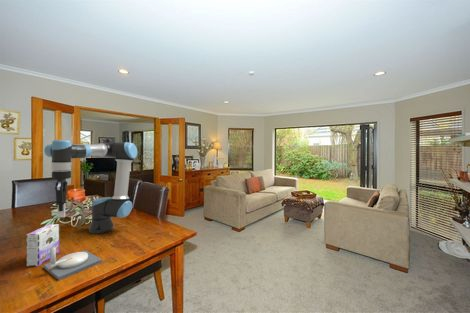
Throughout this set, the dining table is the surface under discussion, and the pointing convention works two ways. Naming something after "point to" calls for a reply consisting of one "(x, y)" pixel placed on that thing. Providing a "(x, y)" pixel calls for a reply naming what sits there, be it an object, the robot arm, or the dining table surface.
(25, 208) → the dining table surface
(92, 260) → the board
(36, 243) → the candy box
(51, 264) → the dial
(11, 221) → the dining table surface
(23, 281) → the dining table surface
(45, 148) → the robot arm
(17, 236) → the dining table surface
